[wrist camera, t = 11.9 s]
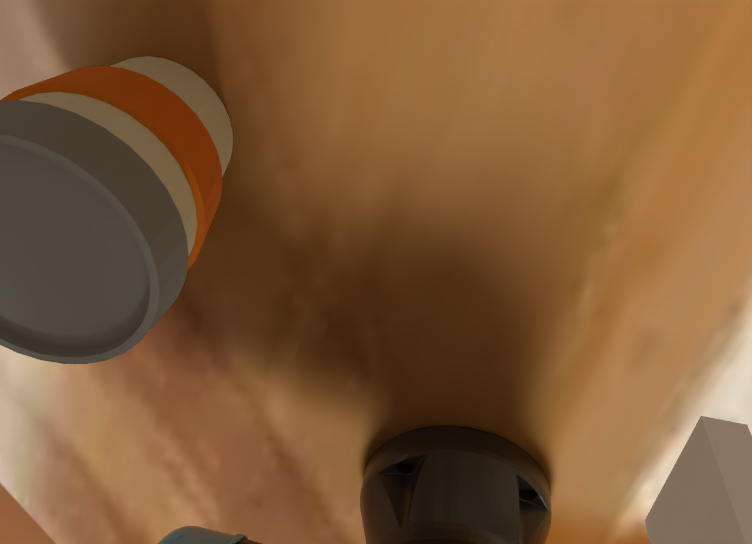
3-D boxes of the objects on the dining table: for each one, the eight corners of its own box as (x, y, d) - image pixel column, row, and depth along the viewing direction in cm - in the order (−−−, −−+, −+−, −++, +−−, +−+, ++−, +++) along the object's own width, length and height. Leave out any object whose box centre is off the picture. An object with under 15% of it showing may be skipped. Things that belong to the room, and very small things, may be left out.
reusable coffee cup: (194, -12, 38) (47, 78, 26) (297, 185, 44) (217, 335, 32) (23, 70, 42) (-173, 180, 30) (138, 240, 48) (13, 391, 36)
